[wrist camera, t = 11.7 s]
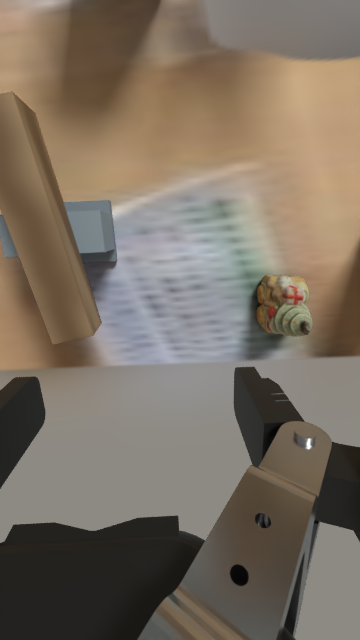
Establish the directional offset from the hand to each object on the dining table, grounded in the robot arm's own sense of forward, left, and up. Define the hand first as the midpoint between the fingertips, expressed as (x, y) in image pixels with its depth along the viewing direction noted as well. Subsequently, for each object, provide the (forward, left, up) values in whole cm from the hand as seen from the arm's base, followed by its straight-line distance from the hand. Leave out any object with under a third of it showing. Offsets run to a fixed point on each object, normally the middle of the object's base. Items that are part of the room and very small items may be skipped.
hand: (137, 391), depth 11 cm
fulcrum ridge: (+10, -7, -27) cm, 29 cm away
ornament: (-16, +3, -27) cm, 32 cm away
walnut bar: (+9, -7, -20) cm, 23 cm away
